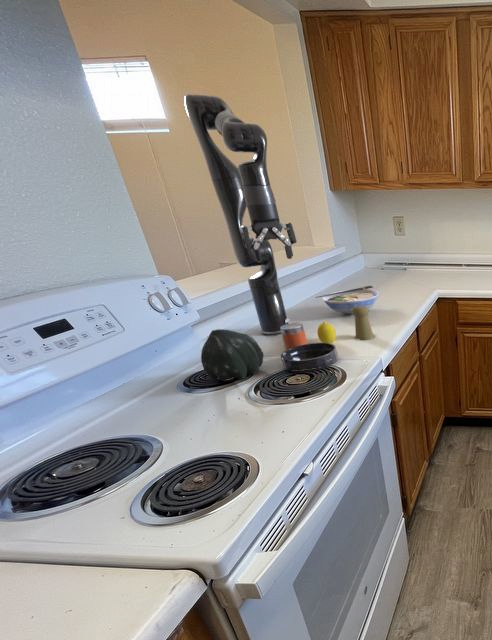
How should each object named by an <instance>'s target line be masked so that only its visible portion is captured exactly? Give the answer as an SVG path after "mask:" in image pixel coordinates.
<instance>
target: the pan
mask: <svg viewBox="0 0 492 640" xmlns="http://www.w3.org/2000/svg"><path fill="white" fill-rule="evenodd" d="M280 359H281V363H282V368H283V369H284V370H285V371H286V372H290V373H308V372H309V373H310V372H315V371H319V370H323V369H325V368H328V367H330V366H333V365H334V364H335V363H337V362H338V360H339V354H338V350H337V346H336V345H335V344H333V343H331V344H330V343H323V342H311V343H310V342H309V343H307V344H304V345H299V346H296V347H293V348H290V349H288V350H286V349H285V350H284V351H282V353H281V354H280ZM319 367H321V368H319ZM312 368H317V369H312ZM303 369H312V370H304V371H292V370H303Z"/></svg>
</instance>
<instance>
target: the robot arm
mask: <svg viewBox="0 0 492 640" xmlns="http://www.w3.org/2000/svg"><path fill="white" fill-rule="evenodd" d="M184 106H185V110H186V113H187V117H188V119H189V122H190V124H191V127H192V129H193V131H194V134H195V137H196V139H197V141H198V144H199V146H200V149H201V152H202V154H203V157H204V160H205V164H206V166H207V170H208V173H209V176H210V180H211V182H212V186H213V188H214V191H215V194H216V196H217V200H218V202H219V205H220V208H221V211H222V213H223V216H224V219H225V220H224V221H225V223H226V226H227V230H228V235H229V238H230V243H231V245H232V249H233V253H234V256H235V258H236V260H237V262H238V264H239V265H240V266H241V267H242V268H252V267H259V266H260V268H259V270H258V271H257V272H256V273H254V274H253V275H251V276H250V277H249V278H248V279H247V281H248V282H247V283H248V286H249V290H250V293H251V296H252V300H253V304H254V308H255V311H256V314H257V318H258V323H259V326H260V329H261V334H263V335H267V336H271V335H272V336H273V335H279V334H282V332H281V329H280V327H281V326H283V325H286V324H290V322H289V321H290V319H289V317H288V316H287V312H286V308H285V304H284V300H283V295H282V292H281V289H280V288H281V287H280V284H279V280H278V279H279V278H278V272H277V266H276V261H275V255H274V252H273V248H272V245H271V243H270V240H278V241H280V242H281V243H282V244H283V245H284V246H283V248H284V251H285V255H286V258H287V260H291V259H292V258H293V257H294V252H293V248H292V245H294V244H297V237H296V233H295V230H294V227H293V223H291V222H285V223H281V220H280V216H279V212H278V207H277V203H276V202H277V201H276V199H275V194H274V192H273V189H272V186H271V182H270V178H269V174H268V167H267V151H268V139H267V135H266V133H265V131H264V129H263V128H262V127H261V126H260V125H259V124H256V123H247V122H244V121H243V120H242V119H240V118H239V117H238V116H236V115H235V114H234V112H233V111H232V109H231V108H230V106H229V105H228V103H227V102H226V101H225V100H224V99H223V98H221V97H219V96H217V95H209V94H207V95H206V94H193V93H191V94H186V95H185V96H184ZM209 131H217V133H218V134H219V135H220V136H221V137H222V140H223V143H224V146H226V148H227V149H229V151H231V152H235V153H253V154H254V156H253V159H252V160H250V161H244V162H240V163H239V164H238V166H236V164H235V163H234V162H233V161H232V160H231V159H230V158H228V156H227V155H225V154H224V153H223V151H221V149H220V147H218V145H216V143H215V142H214V140H213V138H212V137H211V135H210V133H209ZM246 211H247V212H248V216H249V219H250V223H251V225H250V226H249V225H247V226H246V225H243V222H244V218H245V214H246ZM283 230H284V231H286V233H287V237H288V239H287V237H286V236H284V234H282V231H283ZM251 231H252V232H253V233H254V234H255V236H254V237H250V234H251Z"/></svg>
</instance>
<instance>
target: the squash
mask: <svg viewBox="0 0 492 640" xmlns="http://www.w3.org/2000/svg"><path fill="white" fill-rule="evenodd" d="M200 361H201V365H202V368H203V371H204V373H206V375H207V376H208V377H209V378H210V379H211V380H214V379H217V378H219V380H218V381H222V380H226V379H230V378H232V377H234V378H233V379H230V380H226V381H225V382H232V381H233V380H235V379H236V380H238V379H237V378H241V379H240V380H244V379H246V378H247V376H248V377H249V376H250V377H251V376H254V375H256V374H257V373H258V371H259V368H260V367H262V365H263V364H264V352H263V350H262V348H261V346H260V345H259V344H258V342H257V341H256V340H255V338H253V337H252V336H251V335H249V334H247V333H242V332H238V331H233V330H229V329H223V328H222V329H221V328H220V329H219V328H217V329H213V330H211V331H210V333H209V335H208V337H207V339H206V341H205V342H204V344H203V346H202V349H201V354H200Z"/></svg>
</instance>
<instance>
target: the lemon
mask: <svg viewBox="0 0 492 640" xmlns="http://www.w3.org/2000/svg"><path fill="white" fill-rule="evenodd" d="M316 334H317V337H318V339H319V341H320V343H330V344H333V342H335V340H336V337H337V333H336V329H335V327H334V326H333V325H332V324H331V323H329V322H326V321H323V322H322V323H320V325H318V327H317V333H316Z"/></svg>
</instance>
